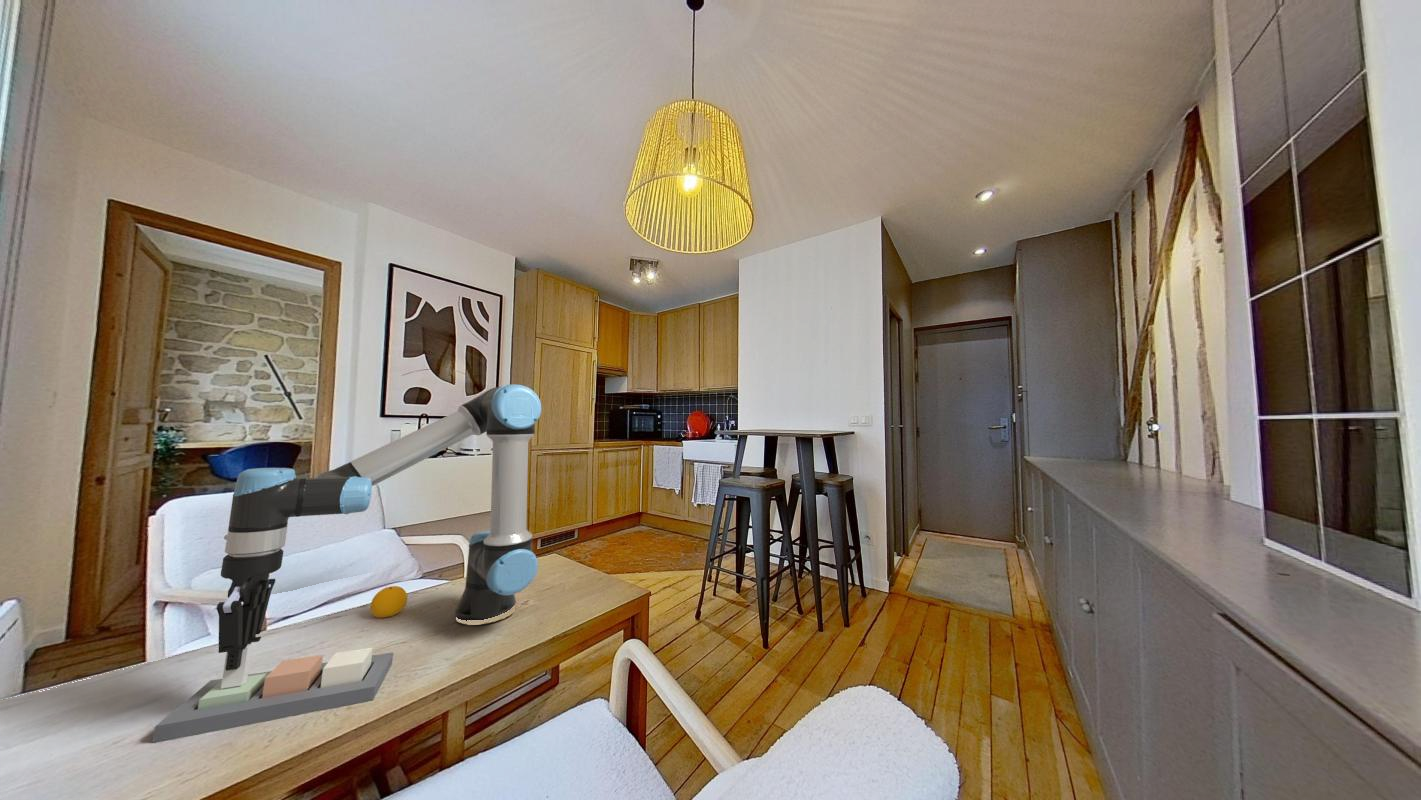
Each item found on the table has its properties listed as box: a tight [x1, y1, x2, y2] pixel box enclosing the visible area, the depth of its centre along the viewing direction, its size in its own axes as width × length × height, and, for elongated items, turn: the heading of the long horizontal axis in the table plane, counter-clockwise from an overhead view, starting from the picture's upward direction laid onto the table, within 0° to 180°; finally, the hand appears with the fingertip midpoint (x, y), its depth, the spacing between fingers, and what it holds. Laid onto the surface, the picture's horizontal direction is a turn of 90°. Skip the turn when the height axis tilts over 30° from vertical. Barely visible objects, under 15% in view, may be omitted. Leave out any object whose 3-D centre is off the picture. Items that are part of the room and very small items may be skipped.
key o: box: [198, 673, 267, 709], centre depth 72 cm, size 6×6×4 cm
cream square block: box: [321, 647, 374, 688], centre depth 80 cm, size 6×6×4 cm
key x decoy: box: [262, 654, 324, 698], centre depth 76 cm, size 6×6×4 cm
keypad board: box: [152, 652, 394, 744], centre depth 76 cm, size 28×13×2 cm, turn 116°
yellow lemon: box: [370, 585, 408, 619], centre depth 111 cm, size 8×8×8 cm
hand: (234, 684), depth 73 cm, fingers closed
